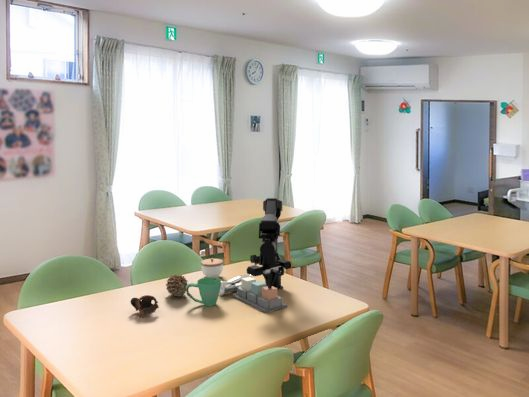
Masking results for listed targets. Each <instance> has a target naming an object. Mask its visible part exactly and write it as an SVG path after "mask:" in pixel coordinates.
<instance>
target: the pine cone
mask: <svg viewBox="0 0 529 397" xmlns="http://www.w3.org/2000/svg"><path fill="white" fill-rule="evenodd" d="M186 278H187V277H185V275H183V274H174V273H172V274H170V276H169V278H168V279H166V283H165V287H166V291H167V292H168V294H170V295H172V296H174V297H176V296H177V297H181V296H185V294H187V292H186V286H187V285H188V284H189V283H188V282H189V280H188V279H186Z"/></svg>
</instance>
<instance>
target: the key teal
mask: <svg viewBox="0 0 529 397" xmlns="http://www.w3.org/2000/svg"><path fill="white" fill-rule="evenodd" d="M263 287H266V283H265V281H260V280H258V281H256V282H253V283H251V293H253V294H255V295H261V294H262V288H263Z"/></svg>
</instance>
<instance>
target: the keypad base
mask: <svg viewBox="0 0 529 397" xmlns="http://www.w3.org/2000/svg"><path fill="white" fill-rule="evenodd" d="M232 298H235V299H236V300H238V301H241V302H242V303H244V304H246V305H249V306H250V307H252V308H254V309H257V310H258V311H261V312H262V313H265V314H267V313H270V312H273V311H278V310H282V309H285V308H288V304H286V303H284V302H283V297H282V296H280V295H277V298H276V299H272V300H266V299H264V298H262V294H261V295H255V294H253V293H251V290H248V291H246V290H244V289H242V288H241V286H240V287H238V288H237V292H236V293H232Z"/></svg>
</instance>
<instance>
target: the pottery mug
mask: <svg viewBox="0 0 529 397" xmlns="http://www.w3.org/2000/svg"><path fill="white" fill-rule="evenodd" d="M153 301H154V302H153ZM152 302H153V303H152ZM158 303H159V302H158V300H157V298H156V297H155V296H153V295H149V294H148V295H142V296H140V297H139V298H138V297H132V298H131V299H130V304H131V306H132V307H133V308H134V309H135V311H136V312H138V311H139V312H138V316H139V318H141V317H142V318H143V317H145V316H147V315H150V314H153V313H154V312H156V310H157V309H159V304H158Z"/></svg>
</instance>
